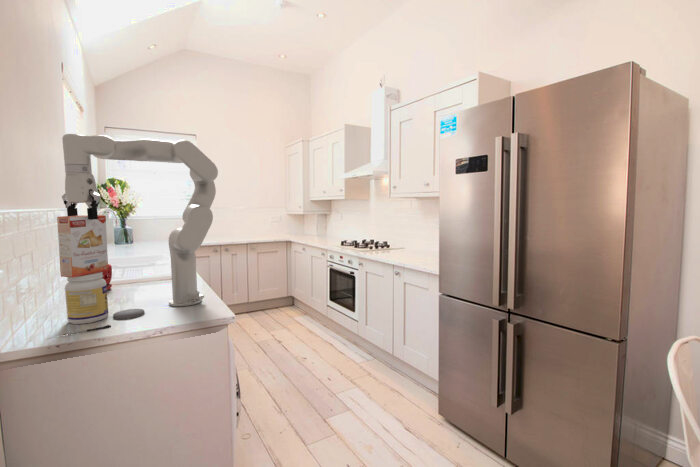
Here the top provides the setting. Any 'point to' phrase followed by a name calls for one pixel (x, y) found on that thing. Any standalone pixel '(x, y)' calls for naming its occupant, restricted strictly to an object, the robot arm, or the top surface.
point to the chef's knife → (90, 329)
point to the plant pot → (108, 276)
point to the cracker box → (82, 245)
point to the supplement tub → (86, 298)
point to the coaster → (128, 314)
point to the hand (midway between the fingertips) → (82, 219)
